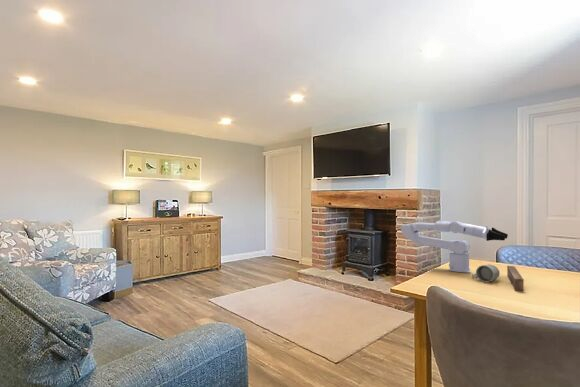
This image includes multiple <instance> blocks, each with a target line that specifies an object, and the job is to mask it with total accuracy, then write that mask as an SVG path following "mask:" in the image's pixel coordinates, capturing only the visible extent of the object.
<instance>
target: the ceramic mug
mask: <svg viewBox="0 0 580 387" xmlns="http://www.w3.org/2000/svg"><path fill="white" fill-rule="evenodd" d="M475 270H476V271H475V273H474V274H472V278H473V279H475V278H477V279H479V281H481V282H483V283H490V282H493V281H495V280H497V279H498V278H499V277H500V273H501V272H500V269H499V268H498V267H497V266H496V265H494V264H489V263H488V264H484V265H483V264H481V265H479V266H478V267H477V268H476V269H475Z"/></svg>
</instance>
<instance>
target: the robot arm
mask: <svg viewBox="0 0 580 387" xmlns="http://www.w3.org/2000/svg"><path fill="white" fill-rule="evenodd" d="M420 230H435V231H436V232H439V233H440V232H442V233H443V232H444V233H451V232H452V233H453V234H458V233H459V234H463V235H465V236H471V237H476V238H479V239H483V240H486V241H488V242H489V241H505V240H506V239H508V237H509V236H508V235H509V234H508V233H505V232H502V231H500V230H498V229H497V228H495V227H491V229H489V225H488V224H486V225H485V226H480V225H475V224H470V223H464V222H461V221H458V220H455V221H453V220H448V221H446V220H444V221H443V219H439V220H437V221H436V222H435V223H434V222H413V223H412V222H410V223H407V224H402V226H401V228H400V231H401V234H402V235H403V236H404V237H405V238H407V239H408V240H410V241H411V242H412V243H413V244H416V245H422V246H428V247H433V248H438V249H443V250H448V251H450V253H449V263H448V267H449V272H458V273H459V272H460V273H466V274H467V273H469V274H470V273H471V268H470V252H469V251H470V248H471V245H470V243H469V241H467V240H466V239H465V240H464V239H462V240H450V239H444V238H443V239H441V238H436V237H431V236H430V237H429V236H424V235H421V234H420V232H419V231H420ZM452 252H453V253H452Z"/></svg>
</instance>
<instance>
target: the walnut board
mask: <svg viewBox="0 0 580 387" xmlns="http://www.w3.org/2000/svg"><path fill="white" fill-rule="evenodd" d="M506 268H507V269H506V270H507V272H506V273H507V274H506V275H507V278H508V280H509V282H510V284H511V285H512V287H513V289H514V291H517V292H524V290H525V289H524V288H525V287H524V281H525V280H524V278H523V277H522V275H521V274H520V272H519V271H518V269H517V267H516V266H515V265H514V266H513V265H507V267H506Z"/></svg>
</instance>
